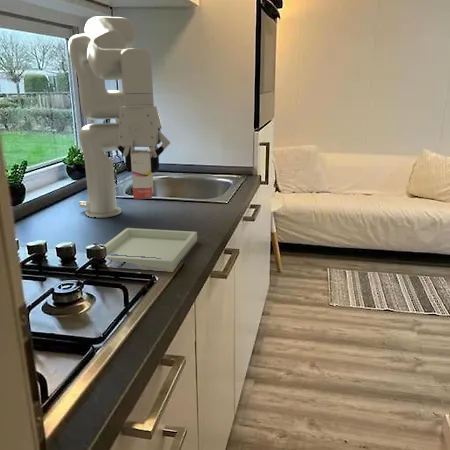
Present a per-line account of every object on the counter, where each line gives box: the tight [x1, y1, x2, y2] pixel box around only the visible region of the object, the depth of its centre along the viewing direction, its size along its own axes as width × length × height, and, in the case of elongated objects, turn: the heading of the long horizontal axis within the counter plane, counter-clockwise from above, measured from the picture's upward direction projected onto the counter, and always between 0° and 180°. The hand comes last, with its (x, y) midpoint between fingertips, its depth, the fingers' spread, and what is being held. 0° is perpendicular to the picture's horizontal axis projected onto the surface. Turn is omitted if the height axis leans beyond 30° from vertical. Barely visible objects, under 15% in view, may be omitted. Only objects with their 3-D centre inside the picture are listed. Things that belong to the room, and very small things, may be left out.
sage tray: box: [103, 227, 198, 269], centre depth 132 cm, size 22×24×3 cm
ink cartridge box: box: [131, 141, 155, 199], centre depth 125 cm, size 9×5×15 cm, turn 5°
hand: (142, 170), depth 126 cm, fingers closed on ink cartridge box, 5 cm apart
